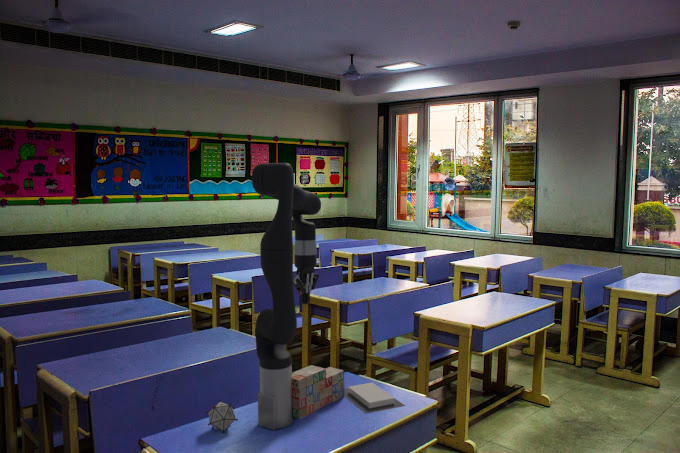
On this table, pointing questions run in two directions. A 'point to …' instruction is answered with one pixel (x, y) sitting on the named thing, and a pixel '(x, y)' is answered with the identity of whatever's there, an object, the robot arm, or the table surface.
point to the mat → (365, 408)
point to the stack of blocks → (315, 389)
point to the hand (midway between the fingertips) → (305, 303)
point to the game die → (221, 416)
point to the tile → (371, 395)
